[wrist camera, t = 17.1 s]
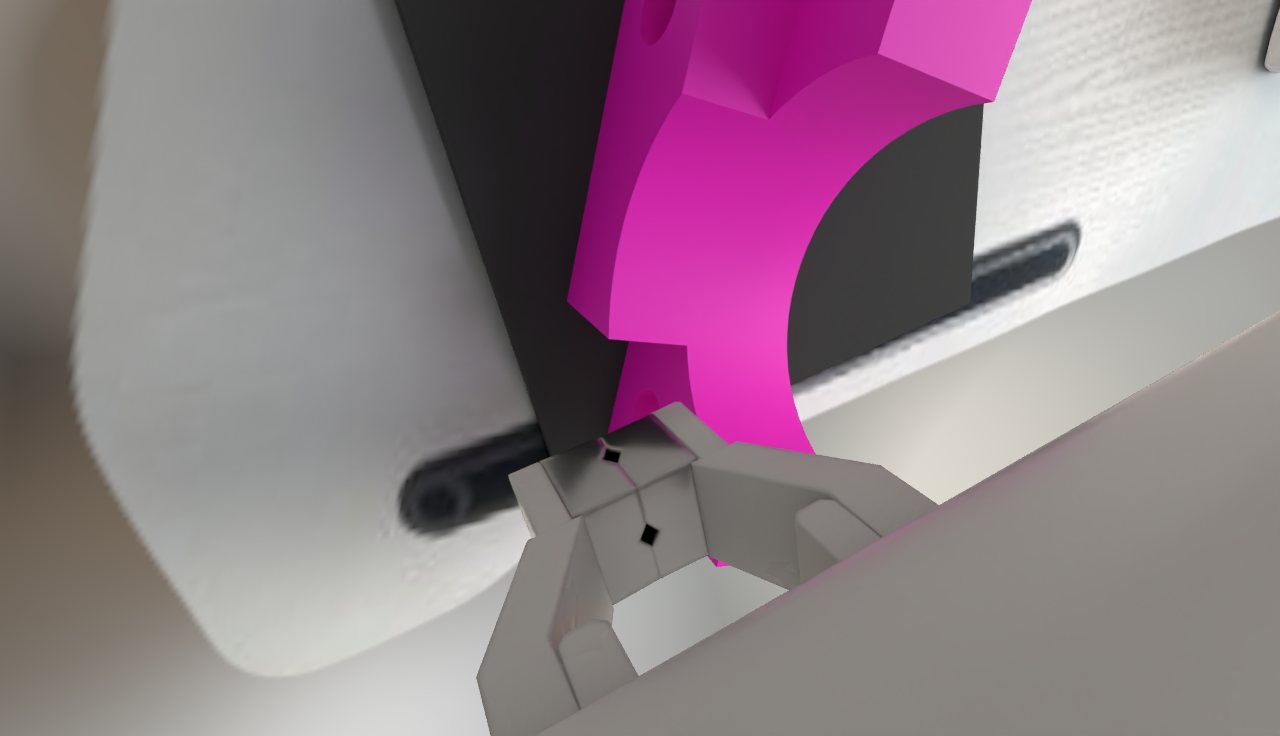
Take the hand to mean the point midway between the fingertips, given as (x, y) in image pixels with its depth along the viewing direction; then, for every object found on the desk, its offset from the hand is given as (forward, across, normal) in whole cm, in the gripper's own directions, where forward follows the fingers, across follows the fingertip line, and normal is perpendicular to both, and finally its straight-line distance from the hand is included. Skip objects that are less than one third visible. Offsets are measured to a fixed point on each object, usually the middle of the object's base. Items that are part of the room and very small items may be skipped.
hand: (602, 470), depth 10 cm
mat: (+11, -10, 0) cm, 15 cm away
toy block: (+10, -7, 0) cm, 12 cm away
